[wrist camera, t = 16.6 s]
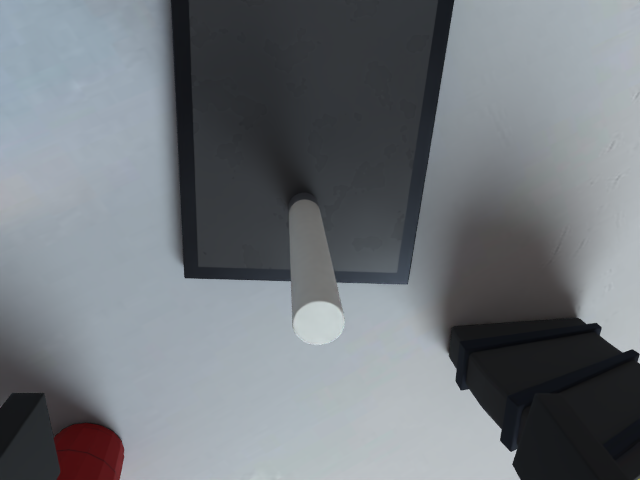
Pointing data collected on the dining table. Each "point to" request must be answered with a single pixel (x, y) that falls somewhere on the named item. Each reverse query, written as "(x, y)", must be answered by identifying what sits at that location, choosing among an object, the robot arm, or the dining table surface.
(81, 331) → the dining table surface
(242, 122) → the tablet
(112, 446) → the plastic cup
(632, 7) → the dining table surface
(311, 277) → the stylus
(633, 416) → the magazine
